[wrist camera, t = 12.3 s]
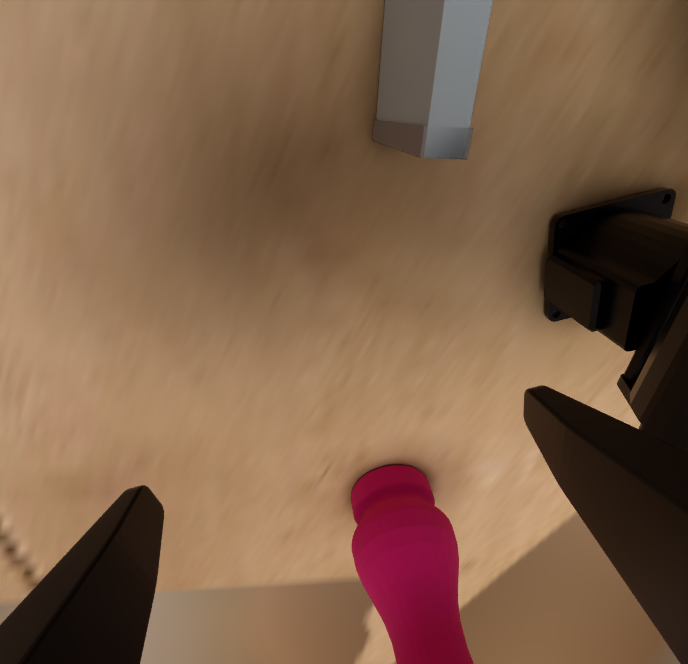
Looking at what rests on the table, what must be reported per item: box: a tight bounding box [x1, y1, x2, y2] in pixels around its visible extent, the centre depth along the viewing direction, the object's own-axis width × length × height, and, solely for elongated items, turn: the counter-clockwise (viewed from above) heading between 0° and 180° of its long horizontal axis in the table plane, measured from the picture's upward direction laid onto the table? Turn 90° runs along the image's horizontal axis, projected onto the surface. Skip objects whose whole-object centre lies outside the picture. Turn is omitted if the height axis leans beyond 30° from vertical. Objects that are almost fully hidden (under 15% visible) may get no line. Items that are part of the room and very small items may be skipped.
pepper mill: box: [351, 465, 474, 664], centre depth 22 cm, size 7×7×20 cm
